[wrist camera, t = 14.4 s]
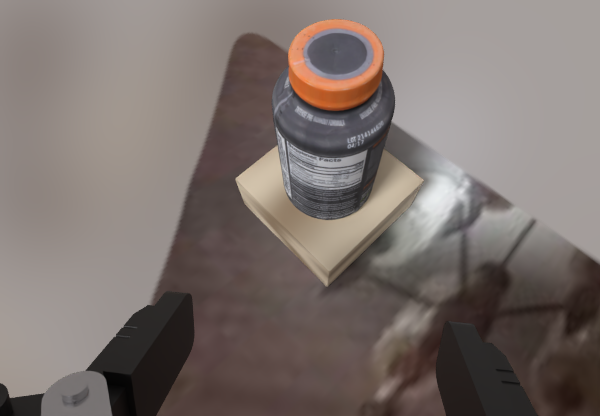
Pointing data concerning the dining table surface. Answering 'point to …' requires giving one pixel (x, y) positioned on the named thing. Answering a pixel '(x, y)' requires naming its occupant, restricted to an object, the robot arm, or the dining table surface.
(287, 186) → the pill bottle
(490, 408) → the robot arm
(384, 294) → the dining table surface
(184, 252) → the dining table surface
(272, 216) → the maple block
